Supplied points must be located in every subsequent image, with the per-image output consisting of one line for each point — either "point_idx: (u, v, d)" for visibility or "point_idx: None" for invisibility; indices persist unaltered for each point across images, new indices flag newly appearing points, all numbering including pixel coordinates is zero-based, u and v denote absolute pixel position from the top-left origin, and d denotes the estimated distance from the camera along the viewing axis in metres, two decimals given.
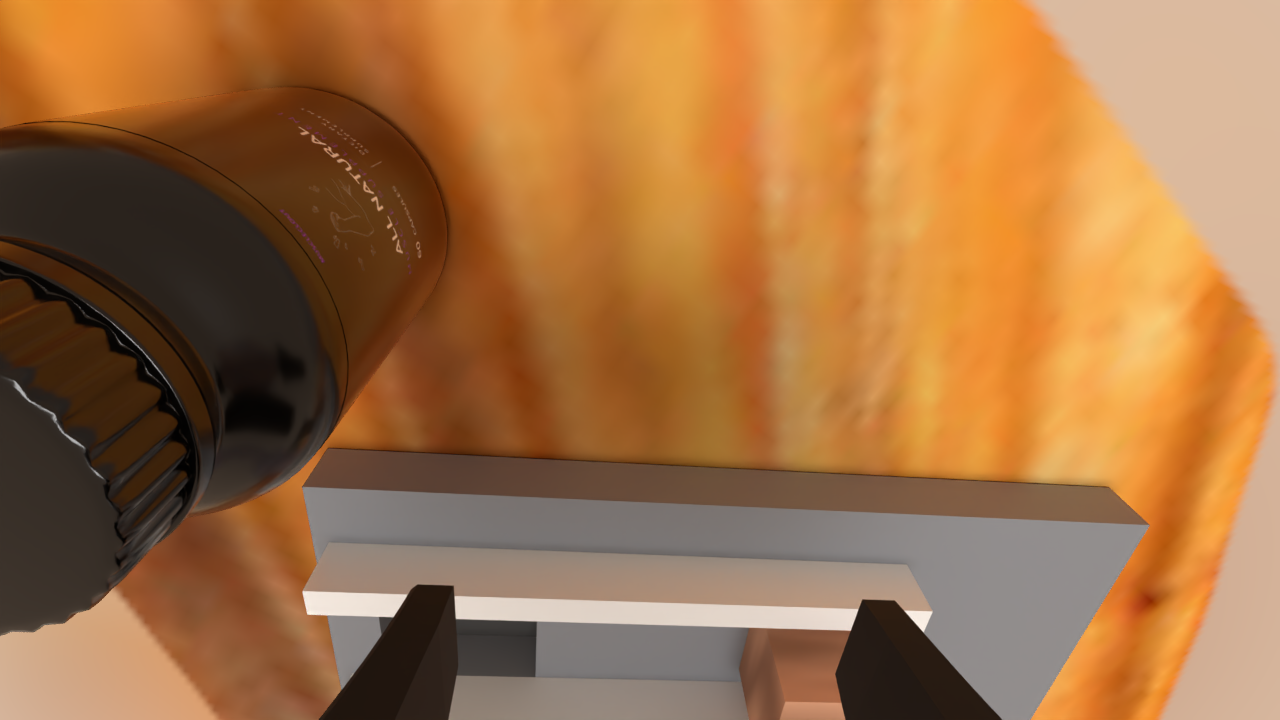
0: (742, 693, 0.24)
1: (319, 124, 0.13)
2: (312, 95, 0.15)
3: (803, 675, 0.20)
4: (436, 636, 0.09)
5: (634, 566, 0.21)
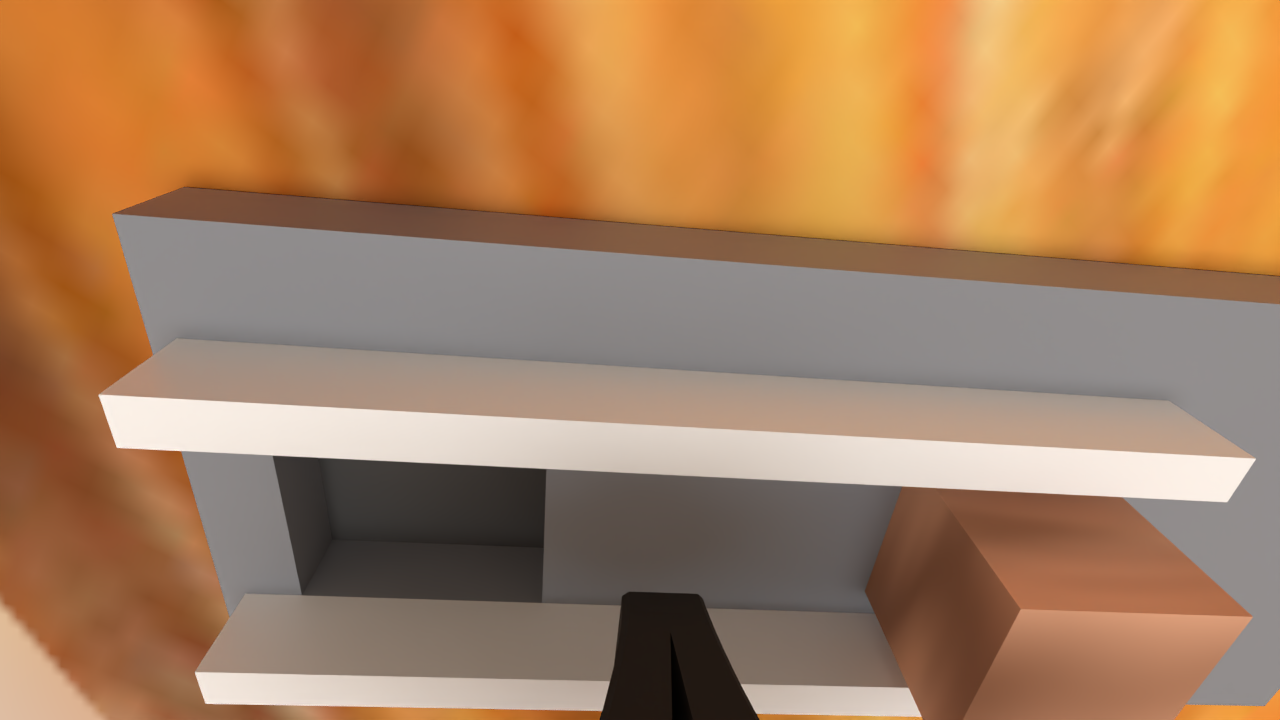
0: (871, 629, 0.15)
1: None
2: None
3: (1035, 568, 0.11)
4: None
5: (718, 386, 0.12)
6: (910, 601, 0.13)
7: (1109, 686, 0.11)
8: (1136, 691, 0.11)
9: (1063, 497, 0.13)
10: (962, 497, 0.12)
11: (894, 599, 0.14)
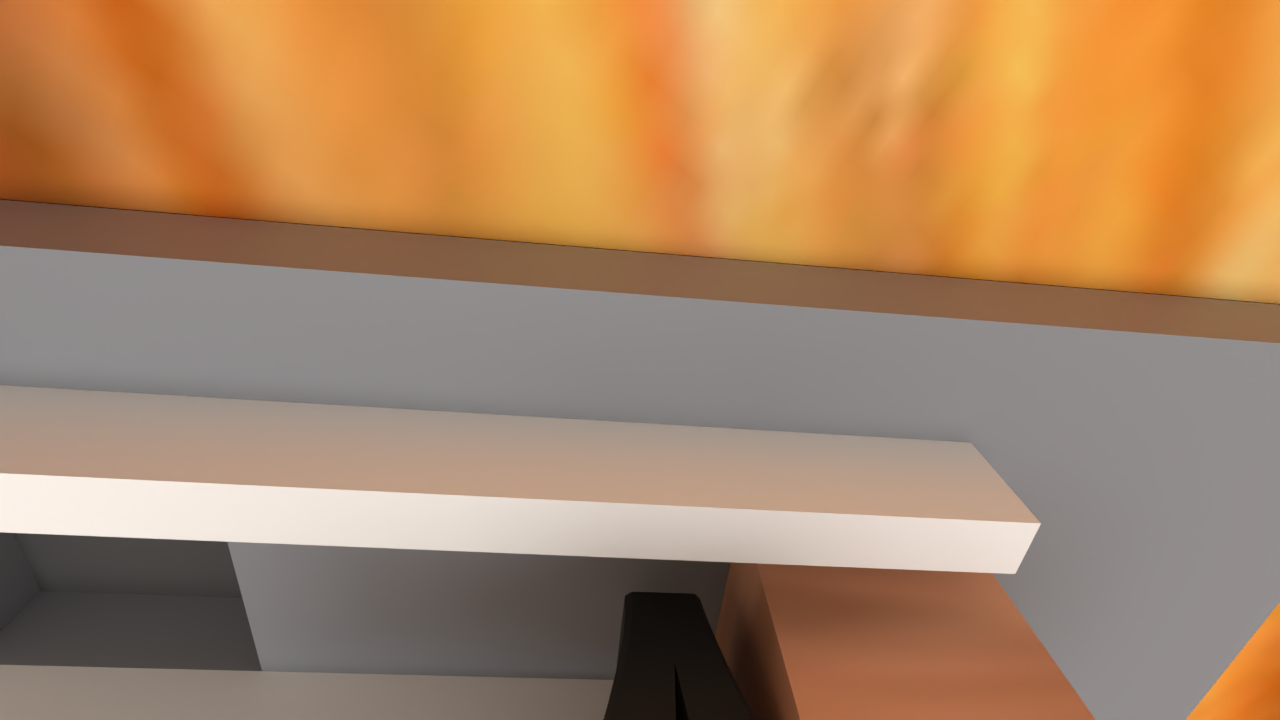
0: None
1: None
2: None
3: (843, 667, 0.09)
4: None
5: (388, 428, 0.10)
6: None
7: None
8: None
9: None
10: (783, 566, 0.10)
11: None
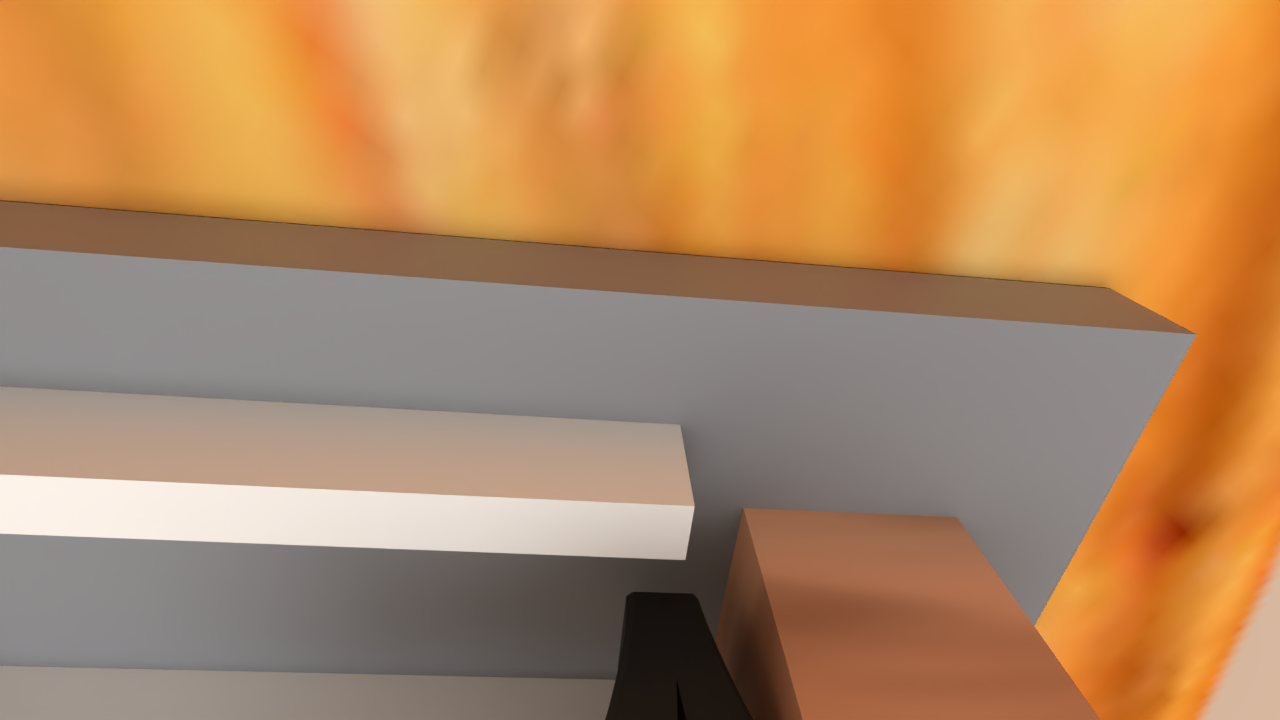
0: (402, 696, 0.13)
1: None
2: None
3: (845, 664, 0.09)
4: None
5: (29, 409, 0.09)
6: (736, 682, 0.11)
7: None
8: None
9: (913, 560, 0.11)
10: (784, 563, 0.10)
11: None
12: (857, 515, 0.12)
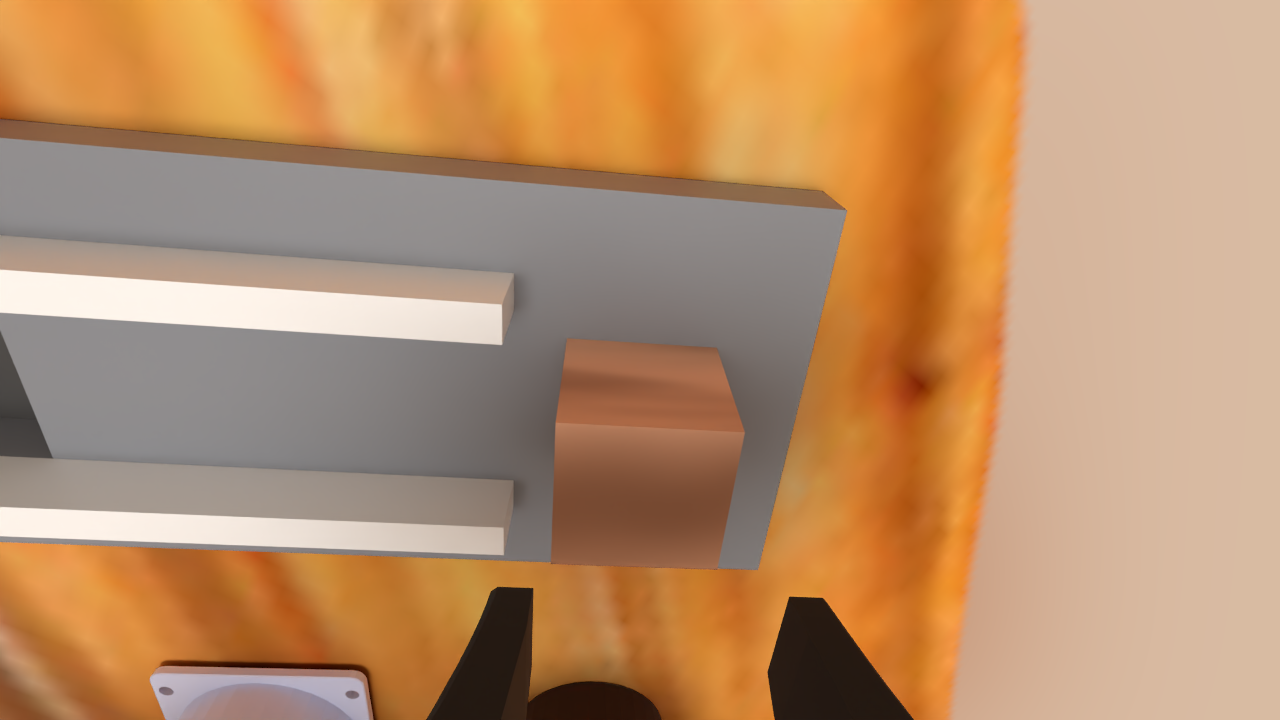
0: (339, 482, 0.18)
1: None
2: None
3: (595, 402, 0.14)
4: (524, 638, 0.10)
5: (88, 250, 0.14)
6: None
7: (658, 495, 0.14)
8: (682, 500, 0.14)
9: (670, 364, 0.16)
10: (580, 362, 0.16)
11: None
12: (647, 345, 0.17)
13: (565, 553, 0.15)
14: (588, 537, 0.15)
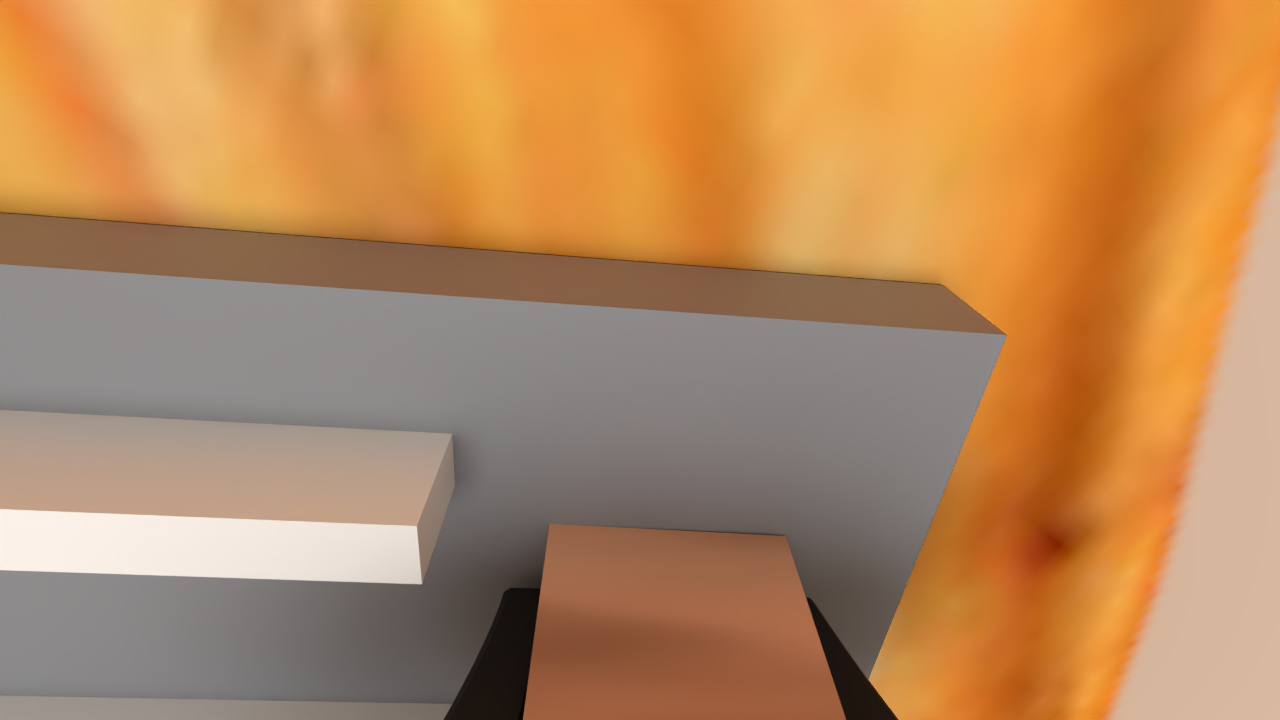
0: None
1: None
2: None
3: (592, 703, 0.08)
4: None
5: None
6: None
7: None
8: None
9: (717, 584, 0.10)
10: (569, 587, 0.09)
11: None
12: (676, 533, 0.11)
13: None
14: None
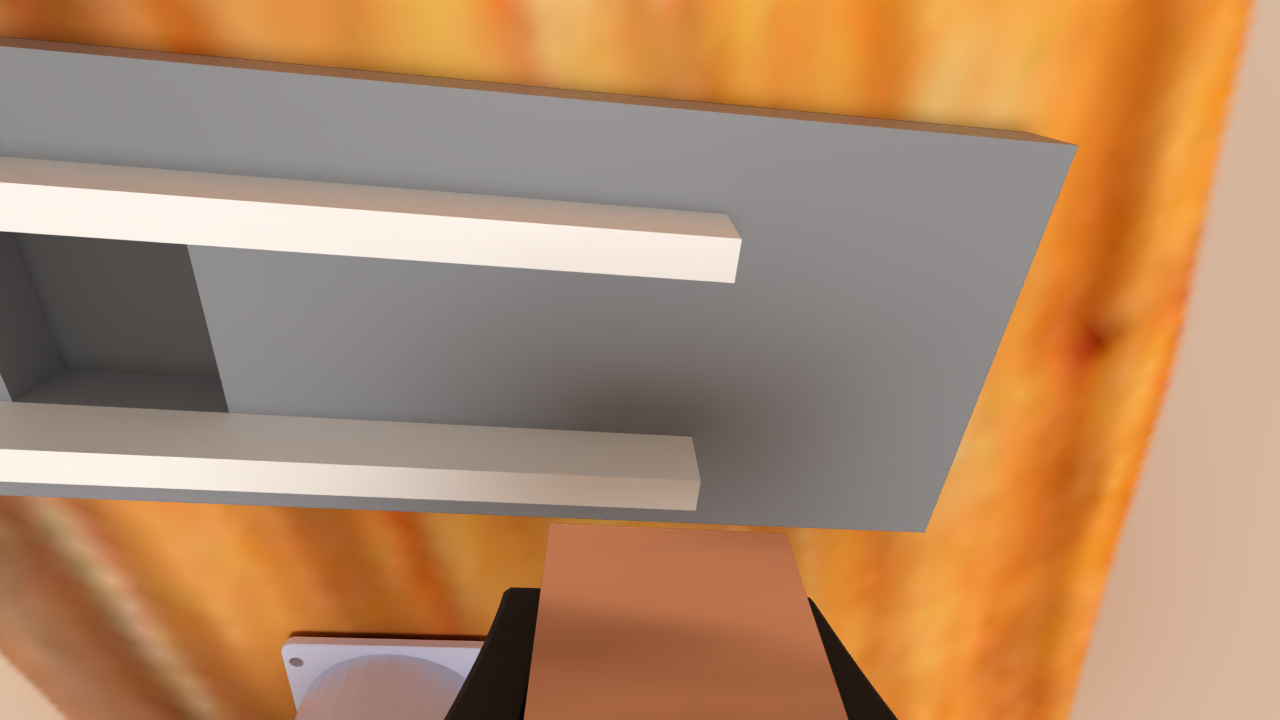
0: (521, 437, 0.17)
1: None
2: None
3: (592, 701, 0.08)
4: None
5: (304, 186, 0.14)
6: None
7: None
8: None
9: (718, 582, 0.10)
10: (570, 585, 0.09)
11: None
12: (677, 531, 0.11)
13: None
14: None
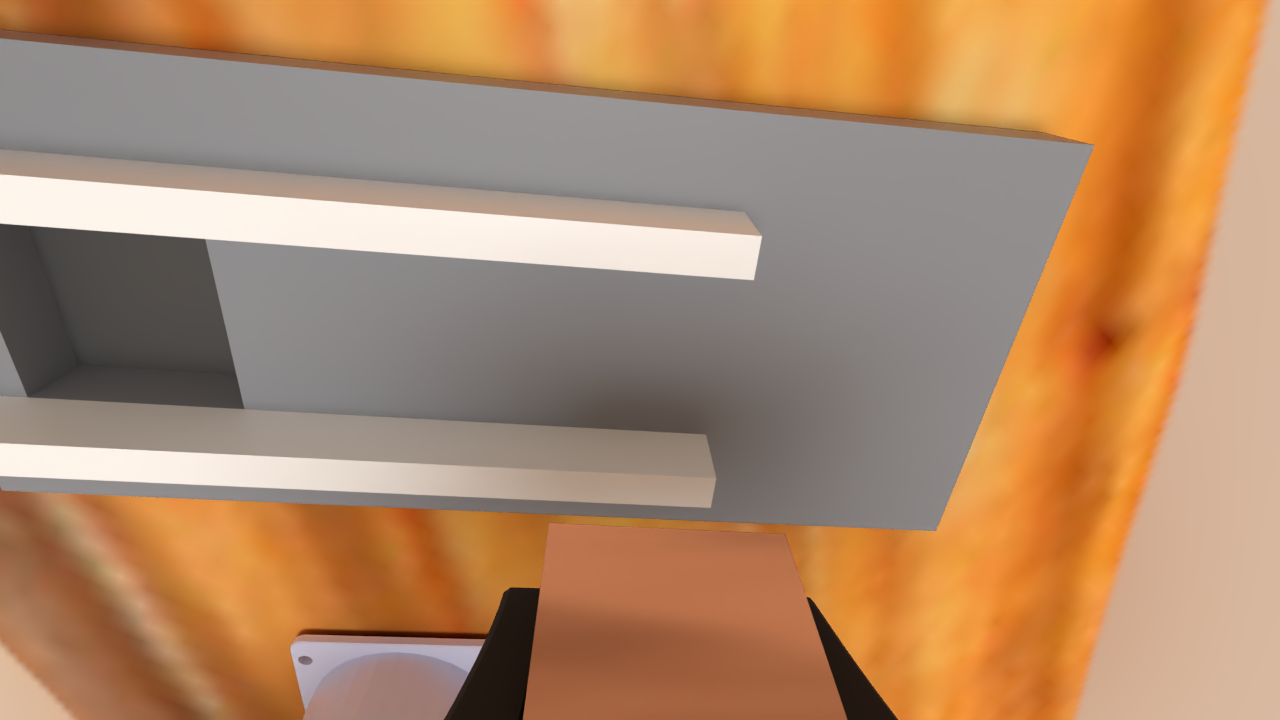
0: (536, 434, 0.17)
1: None
2: None
3: (592, 702, 0.08)
4: None
5: (325, 182, 0.14)
6: None
7: None
8: None
9: (717, 582, 0.10)
10: (569, 585, 0.09)
11: None
12: (676, 532, 0.11)
13: None
14: None
